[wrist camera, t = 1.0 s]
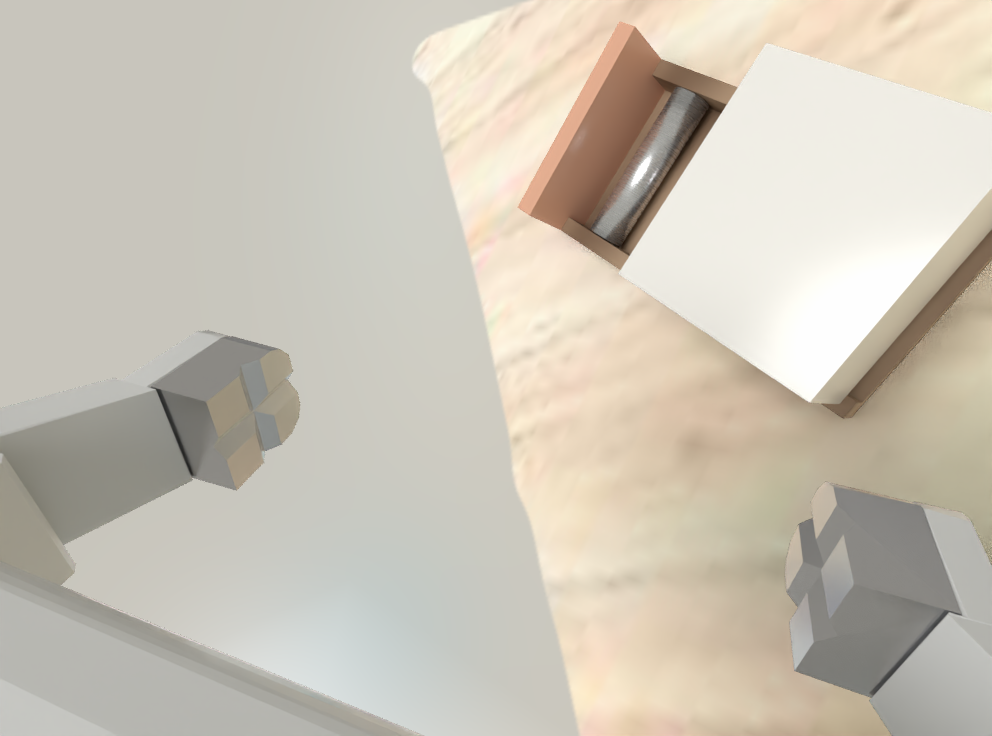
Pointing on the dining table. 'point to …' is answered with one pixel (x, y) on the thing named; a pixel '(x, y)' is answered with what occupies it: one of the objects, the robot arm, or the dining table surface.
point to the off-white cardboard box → (819, 219)
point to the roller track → (677, 170)
